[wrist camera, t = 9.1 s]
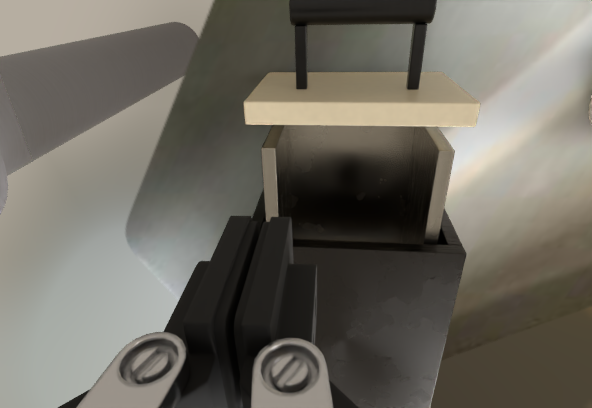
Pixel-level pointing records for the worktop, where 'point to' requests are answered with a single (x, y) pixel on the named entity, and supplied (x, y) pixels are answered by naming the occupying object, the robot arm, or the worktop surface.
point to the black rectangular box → (383, 313)
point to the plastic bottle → (590, 111)
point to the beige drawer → (359, 135)
